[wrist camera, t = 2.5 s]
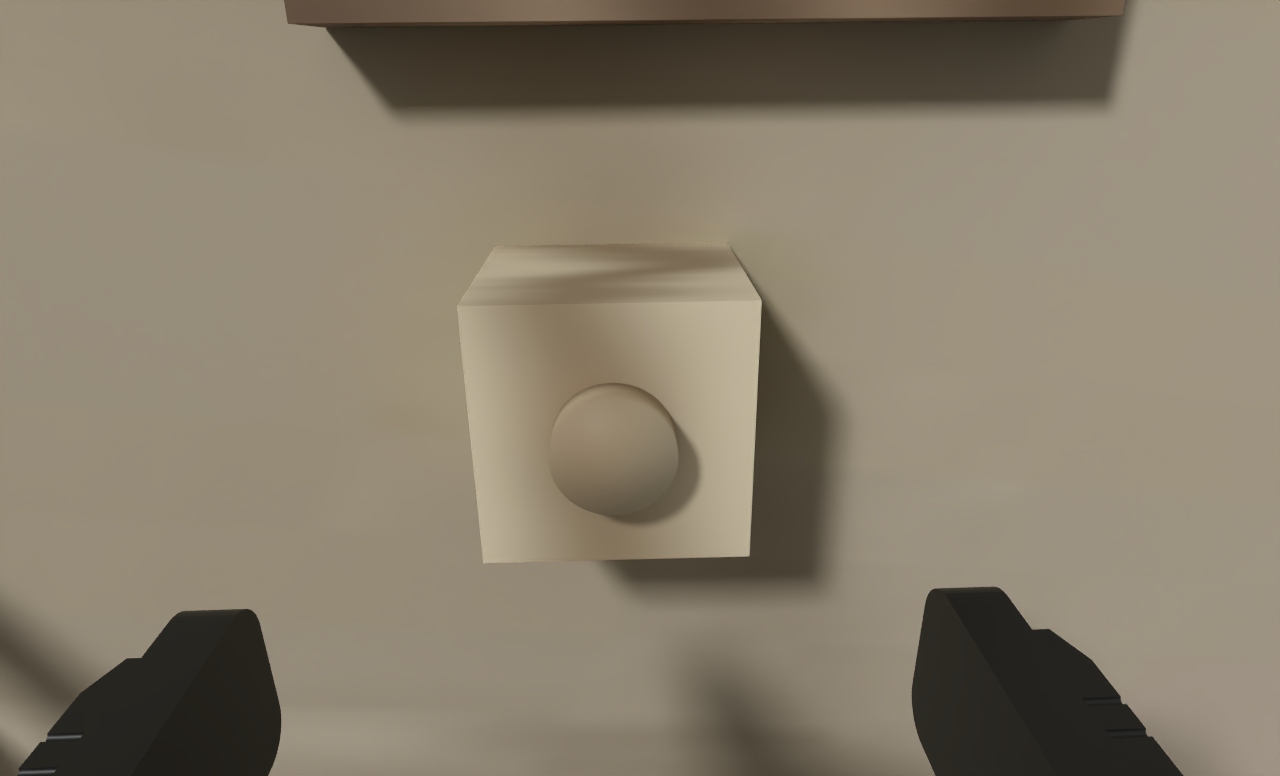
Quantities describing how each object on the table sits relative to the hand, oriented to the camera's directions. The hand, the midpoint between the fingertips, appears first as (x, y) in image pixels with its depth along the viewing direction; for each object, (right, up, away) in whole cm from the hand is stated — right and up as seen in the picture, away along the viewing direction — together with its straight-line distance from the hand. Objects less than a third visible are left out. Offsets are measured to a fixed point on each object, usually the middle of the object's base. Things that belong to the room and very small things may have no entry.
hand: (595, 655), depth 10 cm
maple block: (0, +4, +10) cm, 11 cm away
